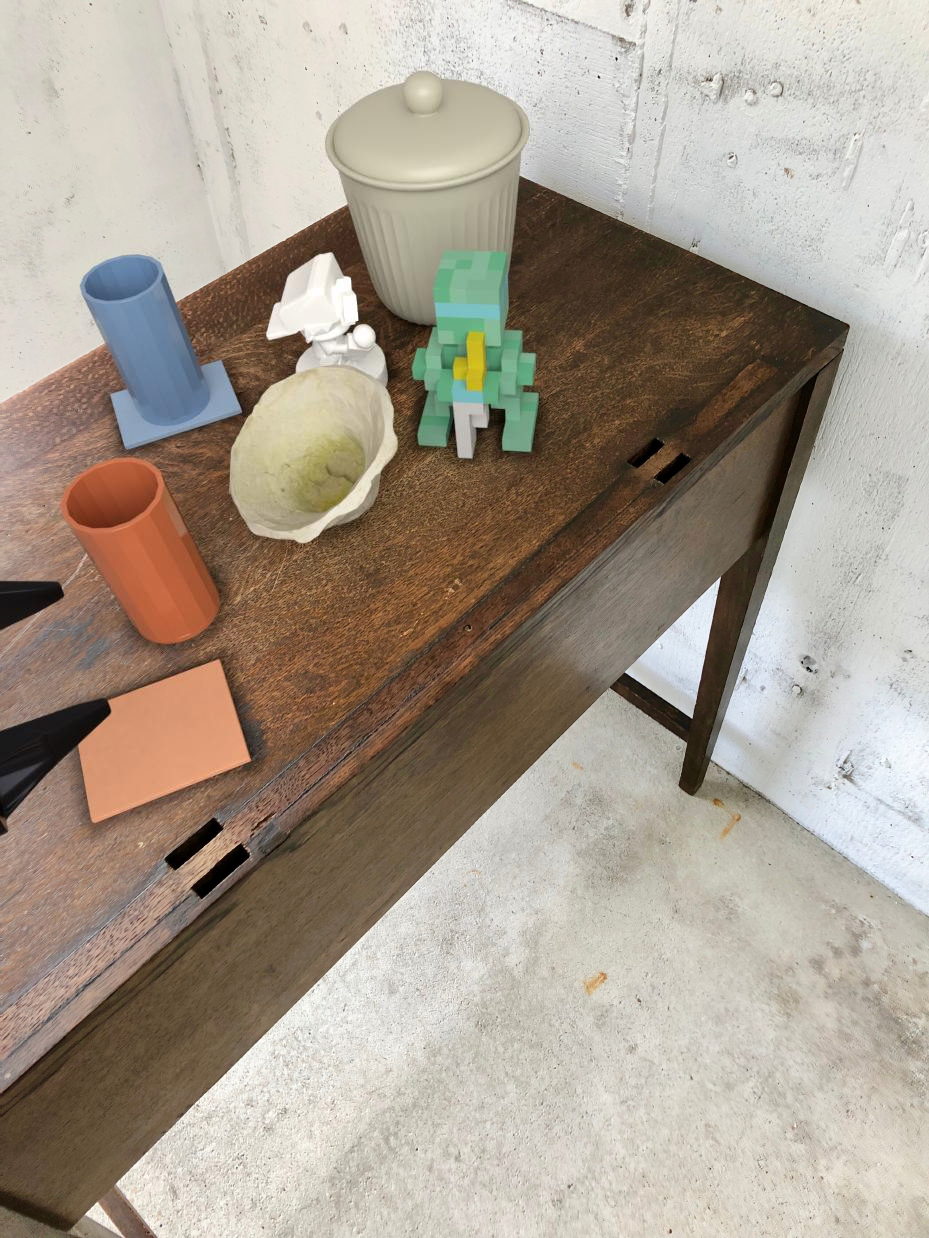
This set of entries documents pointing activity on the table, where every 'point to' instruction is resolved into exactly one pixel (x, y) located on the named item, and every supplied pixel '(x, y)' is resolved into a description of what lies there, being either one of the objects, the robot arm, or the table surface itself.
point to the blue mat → (144, 432)
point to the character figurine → (326, 319)
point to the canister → (428, 180)
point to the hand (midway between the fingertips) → (84, 644)
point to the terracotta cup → (142, 548)
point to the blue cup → (146, 338)
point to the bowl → (312, 452)
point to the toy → (474, 357)
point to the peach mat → (162, 741)
